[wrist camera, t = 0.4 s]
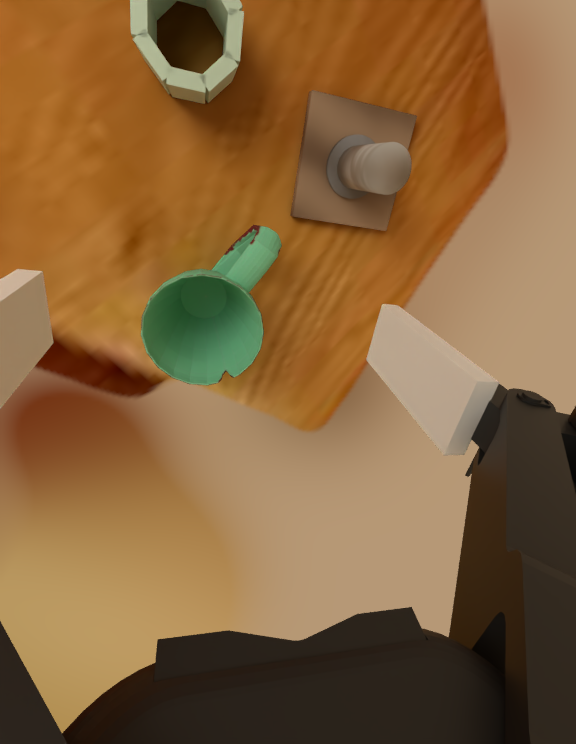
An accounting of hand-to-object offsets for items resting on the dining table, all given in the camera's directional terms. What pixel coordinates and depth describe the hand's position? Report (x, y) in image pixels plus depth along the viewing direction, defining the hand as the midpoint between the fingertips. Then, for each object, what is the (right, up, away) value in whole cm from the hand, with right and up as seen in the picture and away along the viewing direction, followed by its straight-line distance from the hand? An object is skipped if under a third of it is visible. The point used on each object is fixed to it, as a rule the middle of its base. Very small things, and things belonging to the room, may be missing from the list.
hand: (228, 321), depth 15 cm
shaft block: (+8, +18, +21) cm, 28 cm away
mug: (-5, +8, +23) cm, 25 cm away
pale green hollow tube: (-5, +23, +14) cm, 28 cm away
